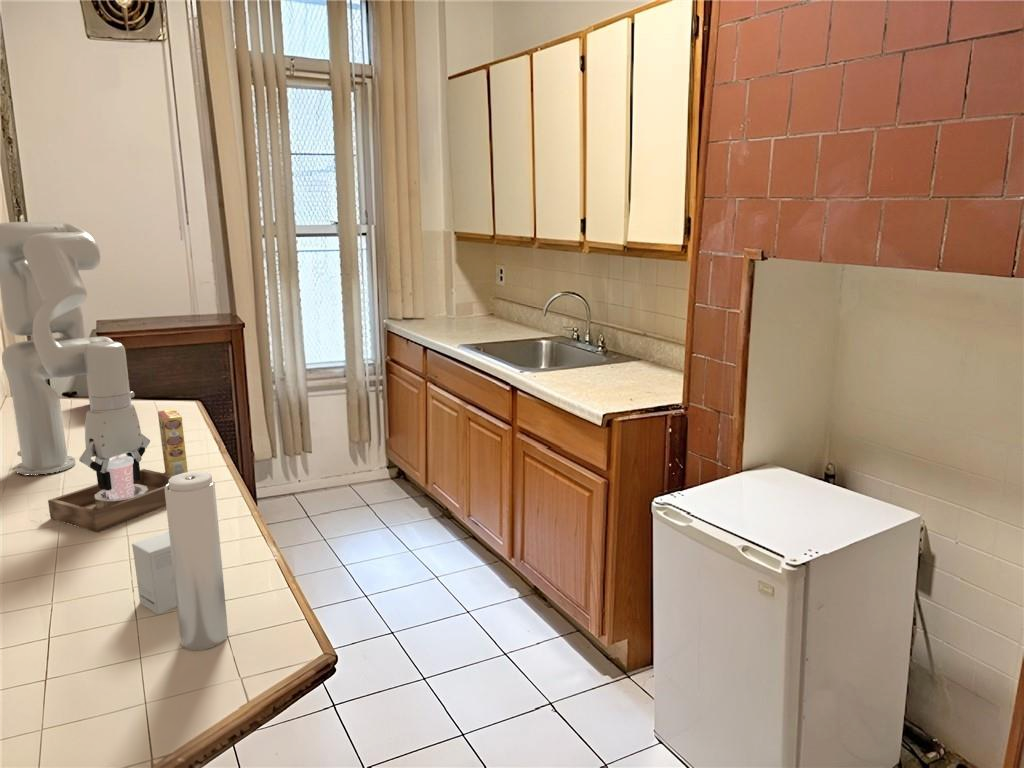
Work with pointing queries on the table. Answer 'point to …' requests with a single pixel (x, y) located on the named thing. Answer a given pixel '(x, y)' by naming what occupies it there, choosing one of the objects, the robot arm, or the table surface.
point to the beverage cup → (121, 477)
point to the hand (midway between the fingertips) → (120, 483)
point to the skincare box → (155, 573)
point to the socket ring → (104, 501)
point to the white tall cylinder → (196, 560)
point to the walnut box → (85, 515)
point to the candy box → (172, 442)
